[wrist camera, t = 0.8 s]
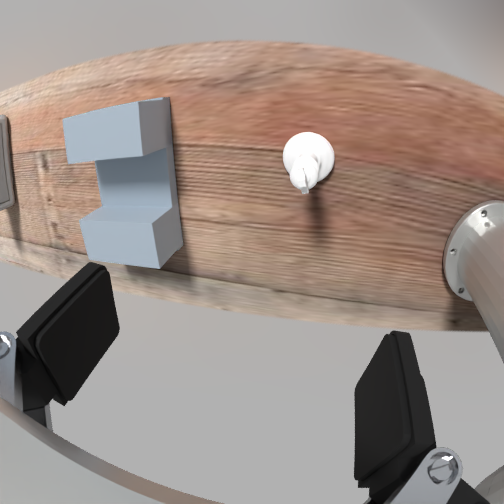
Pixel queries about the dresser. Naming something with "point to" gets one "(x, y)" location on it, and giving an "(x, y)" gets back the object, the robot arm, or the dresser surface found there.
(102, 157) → the slot block
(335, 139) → the dresser surface
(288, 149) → the chess piece
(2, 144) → the digital clock
